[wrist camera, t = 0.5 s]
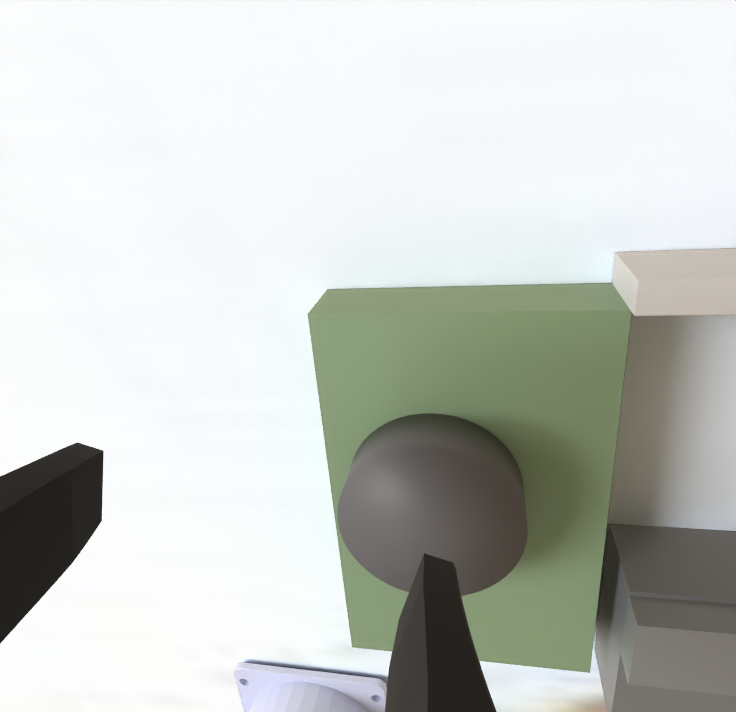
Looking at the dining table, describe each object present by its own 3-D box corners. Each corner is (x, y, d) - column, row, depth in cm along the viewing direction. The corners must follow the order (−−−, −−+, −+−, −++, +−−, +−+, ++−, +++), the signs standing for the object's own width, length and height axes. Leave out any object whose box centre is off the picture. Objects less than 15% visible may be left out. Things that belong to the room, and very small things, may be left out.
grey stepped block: (718, 657, 24) (768, 777, 20) (594, 645, 25) (616, 757, 21) (751, 528, 21) (817, 636, 17) (608, 520, 22) (638, 621, 18)
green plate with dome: (789, 638, 23) (855, 755, 19) (363, 599, 26) (341, 692, 22) (914, 242, 16) (1057, 291, 12) (324, 262, 20) (283, 305, 16)
